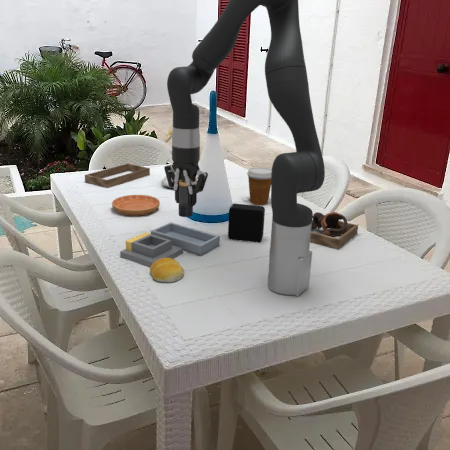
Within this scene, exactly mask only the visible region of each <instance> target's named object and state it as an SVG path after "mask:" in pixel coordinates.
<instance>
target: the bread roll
mask: <svg viewBox="0 0 450 450" xmlns="http://www.w3.org/2000/svg"><path fill="white" fill-rule="evenodd" d="M149 273H150V274H151V275H152V279H153V280H154V281H156V282H159V283H174V282H177V281H179V280H181V279H182V278H183V277H184V274H185V269H184V267H182V265H181V264H180V262H179V261H177V260H176V259H175V258H173V259H172V258H161V259H158V260H156V261H155V262H154V263H153V264H152V265H151V267H149Z"/></svg>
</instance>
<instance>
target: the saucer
mask: <svg viewBox="0 0 450 450" xmlns="http://www.w3.org/2000/svg"><path fill="white" fill-rule="evenodd" d="M160 204H161V202H160V199H158V198H157V197H156V196H152V195H147V194H129V195H128V194H127V195H123V196H120V197H116V198H115V199H113V200H112V202H111V207H112V208H113V209H114V210H115V211H116V212H117V213H118V214H121V215H124V216H131V217H140V216H147V215H150V214H152V213H154V212H155V211H156V210H158V208H159V206H161V205H160Z"/></svg>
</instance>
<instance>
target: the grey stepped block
mask: <svg viewBox="0 0 450 450" xmlns="http://www.w3.org/2000/svg"><path fill="white" fill-rule="evenodd" d="M183 254H184V251H183V248H180V247H177V246H174V245H172V241H171V240H168V239H165V238H162V237H158V236H155V235H152V234H151V232H146V231H145V232H142V233H140V234H138V235H136V236H133V237H131V238H130V239H127V240H125V249H122V250H121V251H120V252H119V255H120V258H122V259H123V258H124V259H127V260H129V261H132V262H134V263H137V264H140V265H143V266H146V267H149V268H150V267H151V265H152V264H153V263H154V262H155V261H156V260H158V259H161V258H172V259H175V258H177V257H179V256H181V255H183Z"/></svg>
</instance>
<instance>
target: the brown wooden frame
mask: <svg viewBox="0 0 450 450" xmlns="http://www.w3.org/2000/svg"><path fill="white" fill-rule="evenodd" d="M125 172H129V173H126V174H122V173H125ZM118 174H122V175H119V176H118ZM115 175H117V176H115ZM150 175H151V169H150V167H146V166H142V165H137V164H132V163H124V164H121V165H117V166H114V167H109V168H106V169H102V170H98V171H94V172H92V173H87V174H84V183H87V184H90V185H93V186H97V187H101V188H104V189H105V188H106V189H109V188H113V187H116V186H120V185H123V184H125V183H129V182H132V181H135V180H136V181H137V180H139V179H143V178H145V177H148V176H150ZM112 176H115V177H112ZM108 177H112V178H108ZM106 178H108V179H106Z"/></svg>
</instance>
